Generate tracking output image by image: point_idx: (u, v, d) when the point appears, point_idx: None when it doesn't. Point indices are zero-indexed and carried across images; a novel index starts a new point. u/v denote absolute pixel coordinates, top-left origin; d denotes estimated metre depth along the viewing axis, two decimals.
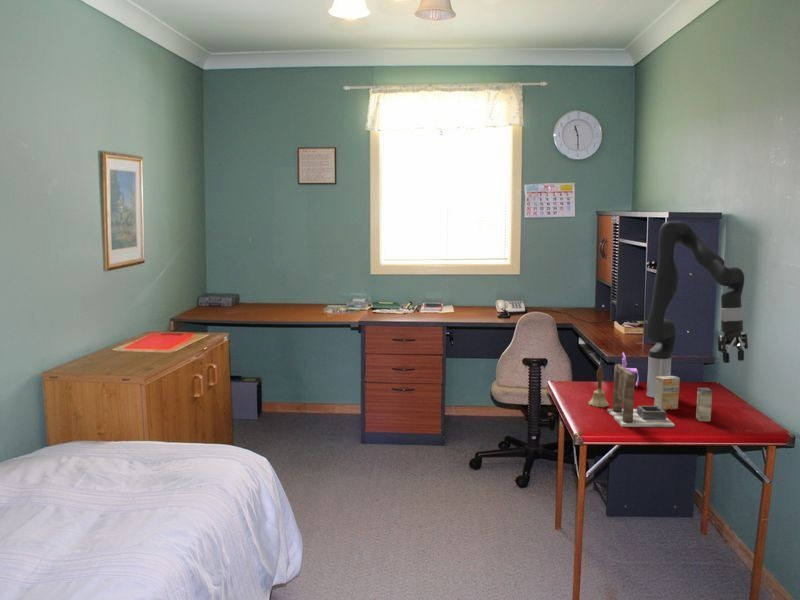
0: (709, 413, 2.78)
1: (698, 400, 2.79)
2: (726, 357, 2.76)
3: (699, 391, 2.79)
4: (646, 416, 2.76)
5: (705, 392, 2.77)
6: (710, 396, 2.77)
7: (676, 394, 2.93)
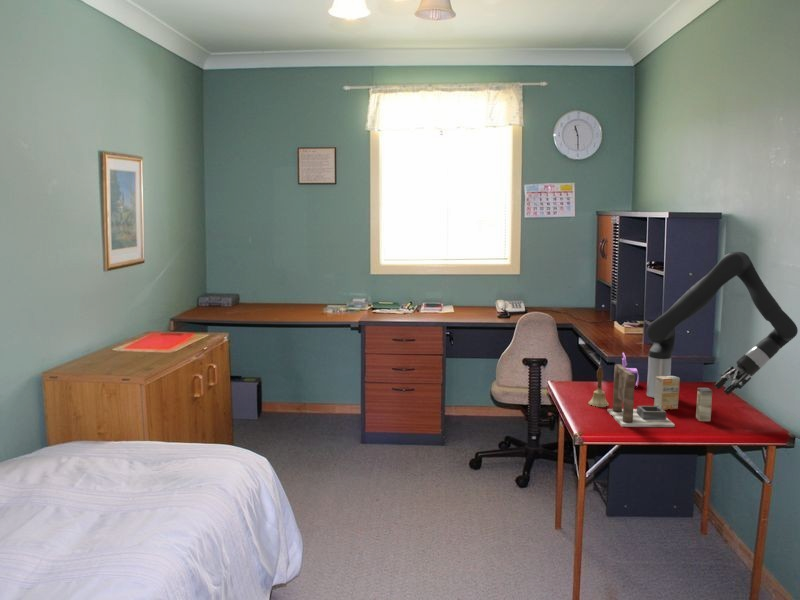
0: (709, 413, 2.78)
1: (698, 400, 2.79)
2: (731, 390, 2.73)
3: (699, 391, 2.79)
4: (646, 416, 2.76)
5: (705, 392, 2.77)
6: (710, 396, 2.77)
7: (676, 394, 2.93)
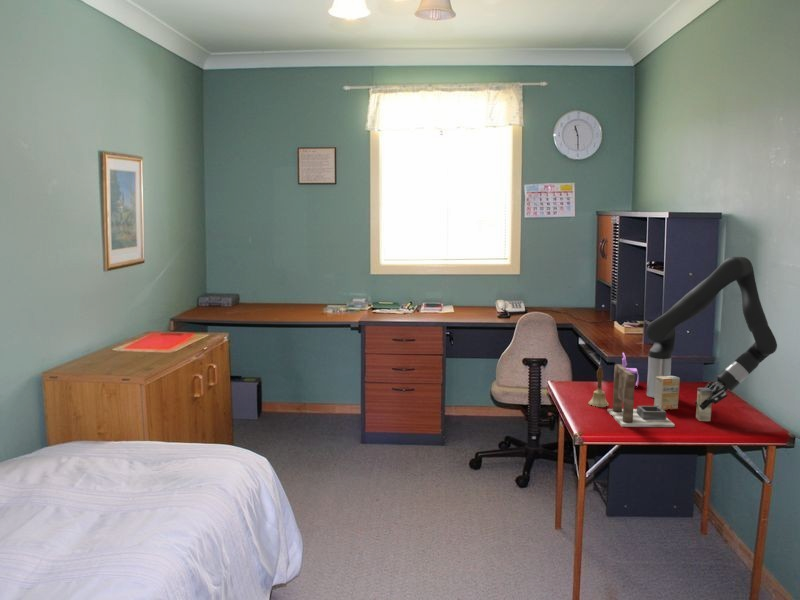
0: (709, 413, 2.78)
1: (698, 400, 2.79)
2: (706, 406, 2.76)
3: (699, 391, 2.79)
4: (646, 416, 2.76)
5: (705, 392, 2.77)
6: None
7: (676, 394, 2.93)
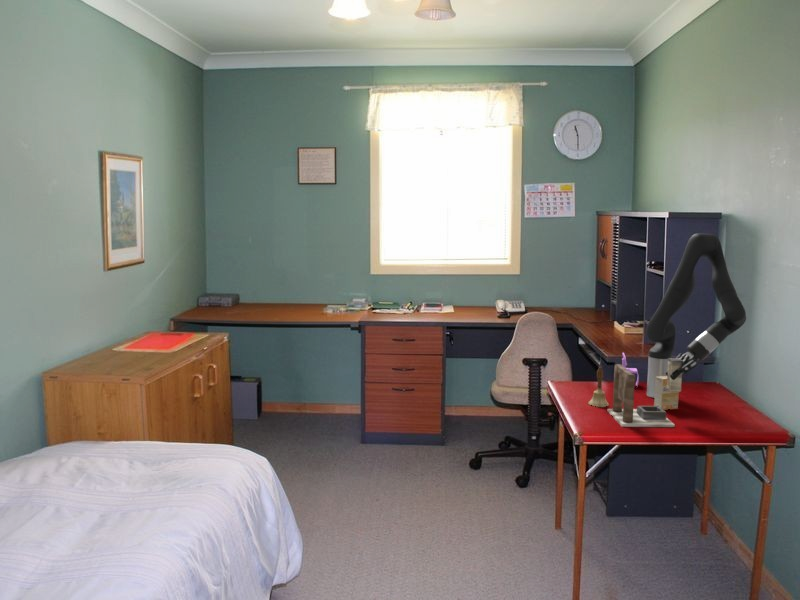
0: (679, 383, 2.76)
1: (669, 370, 2.78)
2: None
3: (669, 361, 2.77)
4: (646, 416, 2.76)
5: (675, 362, 2.75)
6: None
7: (676, 394, 2.93)
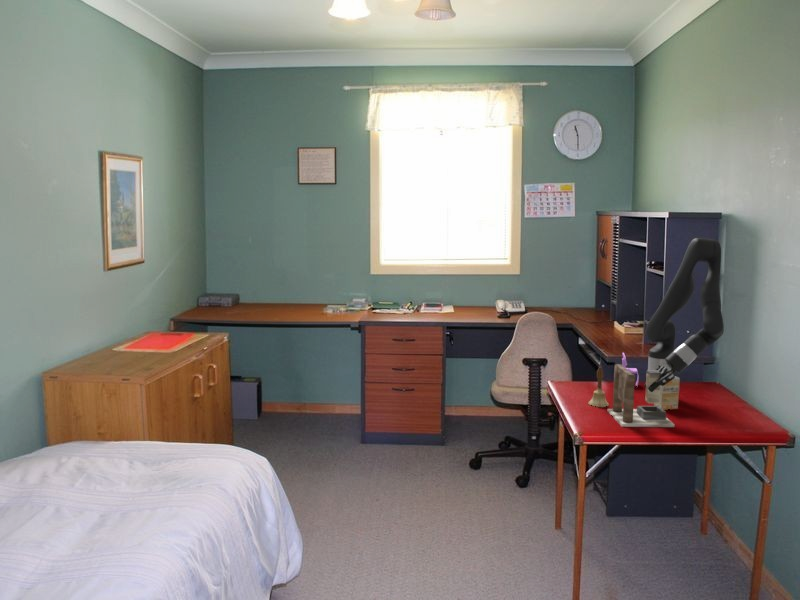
0: (658, 395, 2.77)
1: (647, 382, 2.79)
2: None
3: (648, 373, 2.78)
4: (646, 416, 2.76)
5: (653, 374, 2.76)
6: None
7: (676, 394, 2.93)
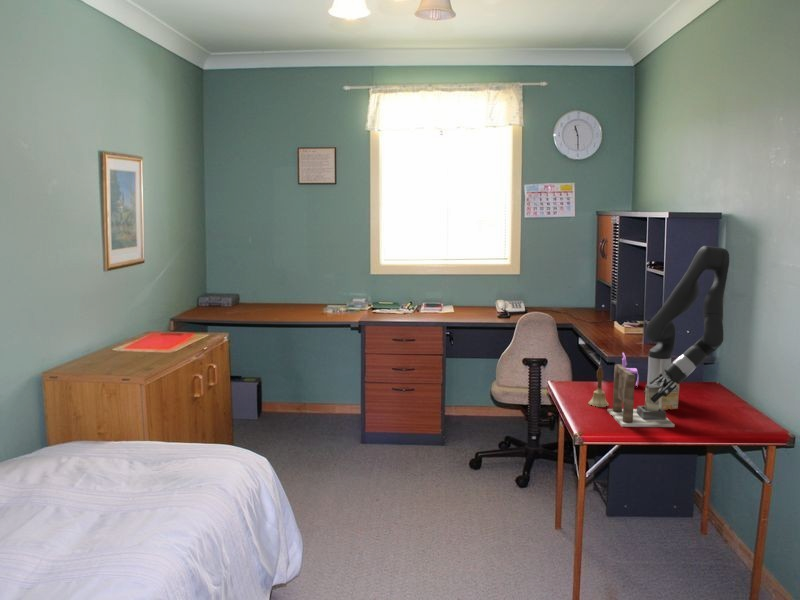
0: (657, 410, 2.78)
1: (646, 397, 2.79)
2: (657, 398, 2.74)
3: (647, 388, 2.79)
4: (646, 416, 2.76)
5: (652, 389, 2.77)
6: None
7: (676, 394, 2.93)
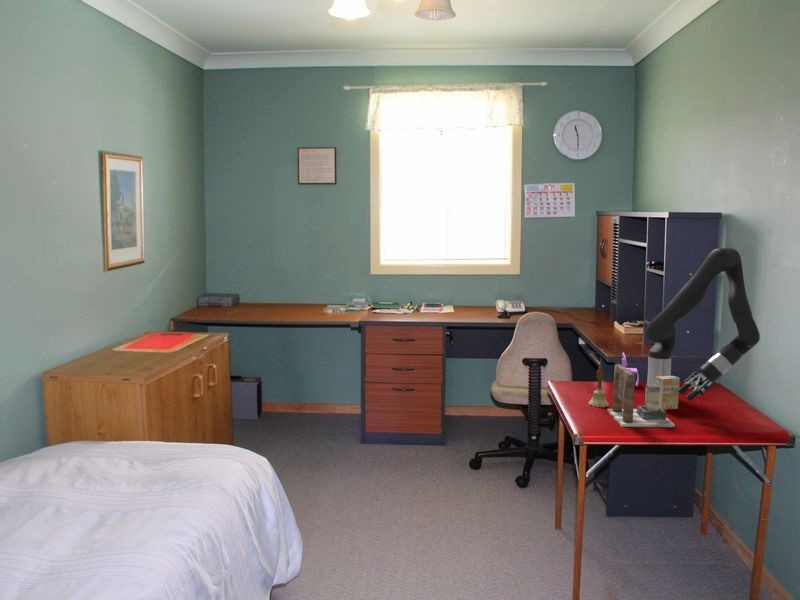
0: (657, 410, 2.78)
1: (646, 397, 2.79)
2: (693, 397, 2.74)
3: (647, 388, 2.79)
4: (646, 416, 2.76)
5: (652, 389, 2.77)
6: (657, 393, 2.77)
7: (676, 394, 2.93)
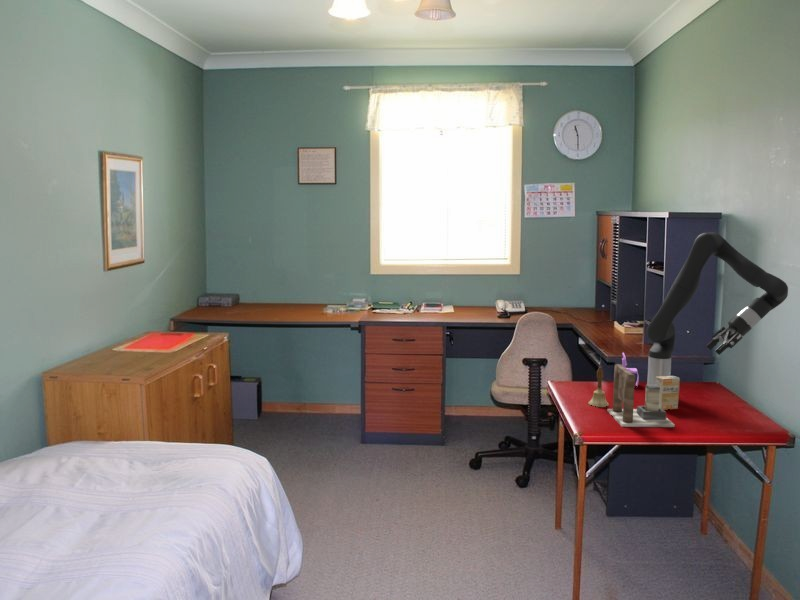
0: (657, 410, 2.78)
1: (646, 397, 2.79)
2: (722, 350, 2.73)
3: (647, 388, 2.79)
4: (646, 416, 2.76)
5: (652, 389, 2.77)
6: (657, 393, 2.77)
7: (676, 394, 2.93)
